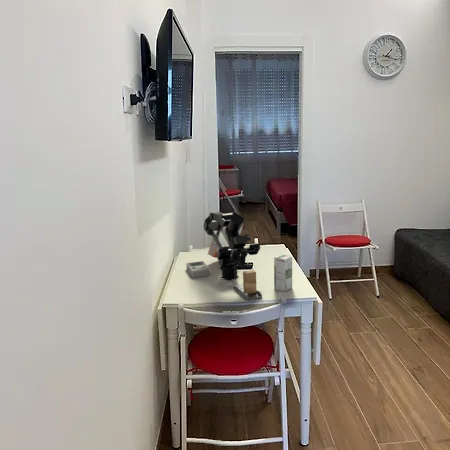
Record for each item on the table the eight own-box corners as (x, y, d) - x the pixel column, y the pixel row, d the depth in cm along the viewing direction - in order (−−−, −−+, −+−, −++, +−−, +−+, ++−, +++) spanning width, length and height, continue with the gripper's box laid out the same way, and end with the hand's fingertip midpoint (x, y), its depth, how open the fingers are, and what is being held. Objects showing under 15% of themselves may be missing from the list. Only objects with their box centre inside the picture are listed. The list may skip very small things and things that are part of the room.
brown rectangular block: (243, 292, 183) (242, 271, 181) (253, 290, 184) (253, 269, 182) (246, 294, 180) (245, 273, 178) (256, 292, 181) (255, 271, 179)
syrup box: (281, 285, 192) (280, 253, 189) (292, 288, 189) (292, 255, 186) (274, 289, 188) (273, 257, 185) (285, 292, 184) (285, 259, 181)
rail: (233, 288, 191) (233, 282, 191) (247, 286, 193) (247, 280, 193) (247, 301, 177) (247, 294, 176) (262, 298, 179) (262, 292, 178)
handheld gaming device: (192, 278, 208) (192, 271, 207) (186, 269, 222) (186, 262, 221) (210, 276, 210) (210, 268, 209) (203, 267, 224) (203, 260, 223)
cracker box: (214, 258, 224) (225, 219, 222) (207, 254, 229) (217, 216, 226) (233, 259, 234) (244, 222, 231) (226, 255, 238) (236, 219, 236)
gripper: (217, 230, 184) (227, 262, 176) (258, 225, 190) (269, 256, 182) (212, 243, 193) (221, 275, 185) (251, 238, 199) (262, 268, 191)
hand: (244, 268), depth 185 cm, fingers closed
